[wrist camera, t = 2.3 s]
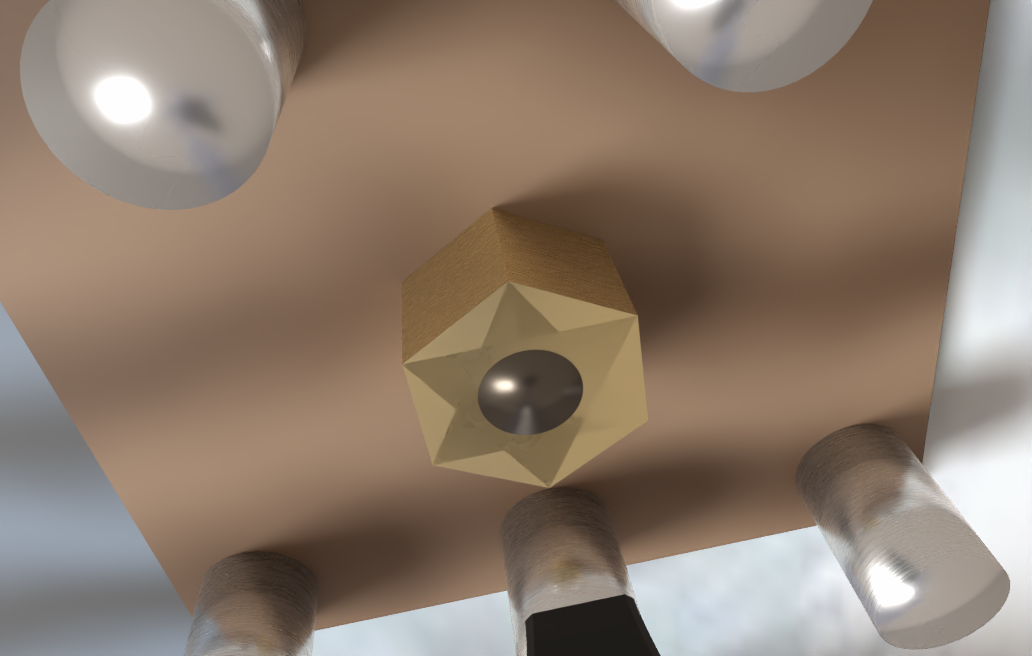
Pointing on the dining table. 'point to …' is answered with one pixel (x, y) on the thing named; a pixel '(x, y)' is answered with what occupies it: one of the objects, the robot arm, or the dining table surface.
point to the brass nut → (521, 351)
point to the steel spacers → (548, 513)
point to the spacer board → (413, 241)
